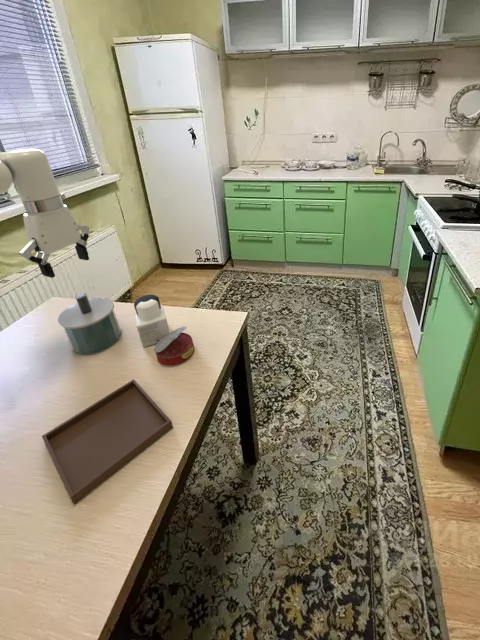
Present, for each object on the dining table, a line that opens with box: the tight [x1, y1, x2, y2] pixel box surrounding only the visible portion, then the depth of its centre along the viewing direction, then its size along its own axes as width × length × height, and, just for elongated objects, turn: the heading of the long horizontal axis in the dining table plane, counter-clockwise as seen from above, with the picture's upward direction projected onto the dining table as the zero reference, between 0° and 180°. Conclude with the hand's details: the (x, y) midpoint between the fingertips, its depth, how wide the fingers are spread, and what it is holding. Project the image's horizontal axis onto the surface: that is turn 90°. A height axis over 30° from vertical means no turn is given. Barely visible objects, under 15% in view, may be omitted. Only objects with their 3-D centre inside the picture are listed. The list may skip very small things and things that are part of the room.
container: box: [133, 294, 171, 348], centre depth 93 cm, size 8×8×13 cm
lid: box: [57, 292, 115, 329], centre depth 89 cm, size 14×14×6 cm
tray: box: [41, 379, 174, 505], centre depth 67 cm, size 19×17×2 cm
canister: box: [62, 309, 122, 355], centre depth 93 cm, size 13×13×10 cm
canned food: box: [153, 326, 195, 367], centre depth 87 cm, size 11×10×10 cm
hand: (68, 267), depth 84 cm, fingers open, 9 cm apart
